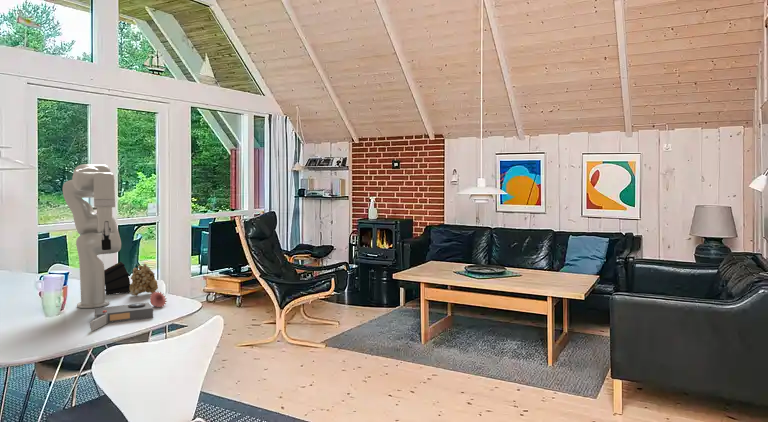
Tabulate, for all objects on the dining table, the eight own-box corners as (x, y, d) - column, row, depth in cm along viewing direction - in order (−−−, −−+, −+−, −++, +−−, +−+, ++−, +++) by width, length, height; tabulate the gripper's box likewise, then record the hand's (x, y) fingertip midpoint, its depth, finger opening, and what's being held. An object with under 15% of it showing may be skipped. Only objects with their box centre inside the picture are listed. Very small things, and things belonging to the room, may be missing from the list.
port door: (108, 323, 216) (108, 313, 216) (93, 331, 205) (93, 320, 205) (104, 323, 216) (103, 313, 216) (89, 331, 205) (89, 320, 205)
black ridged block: (138, 288, 277) (122, 261, 272) (111, 302, 270) (95, 276, 266) (136, 286, 280) (121, 261, 275) (110, 301, 273) (94, 275, 269)
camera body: (94, 317, 225) (94, 306, 225) (148, 311, 236) (148, 300, 235) (97, 324, 215) (96, 313, 215) (153, 317, 225) (152, 306, 225)
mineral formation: (126, 295, 267) (125, 264, 266) (154, 291, 277) (153, 261, 276) (134, 298, 262) (132, 266, 261) (162, 293, 271) (161, 262, 270)
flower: (146, 292, 246) (152, 286, 243) (163, 297, 251) (170, 291, 248) (144, 308, 241) (150, 302, 239) (162, 312, 246) (168, 307, 243)
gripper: (92, 203, 229) (94, 248, 230) (95, 204, 216) (97, 252, 217) (113, 202, 233) (114, 247, 234) (117, 204, 220) (118, 251, 221)
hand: (106, 249), depth 225 cm, fingers closed
